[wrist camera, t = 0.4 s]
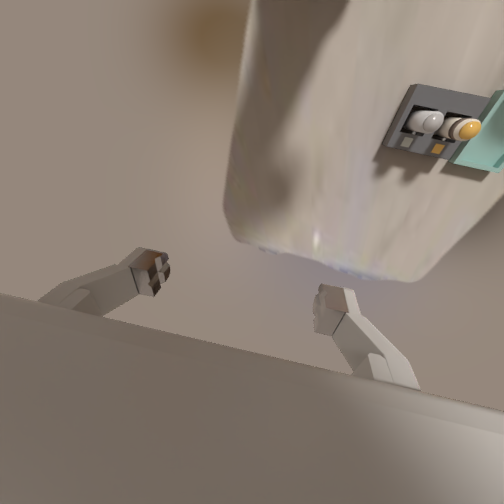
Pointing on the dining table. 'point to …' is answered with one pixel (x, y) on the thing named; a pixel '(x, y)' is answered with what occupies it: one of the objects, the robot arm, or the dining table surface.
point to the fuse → (424, 121)
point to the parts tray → (485, 139)
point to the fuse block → (434, 101)
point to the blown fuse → (459, 128)
